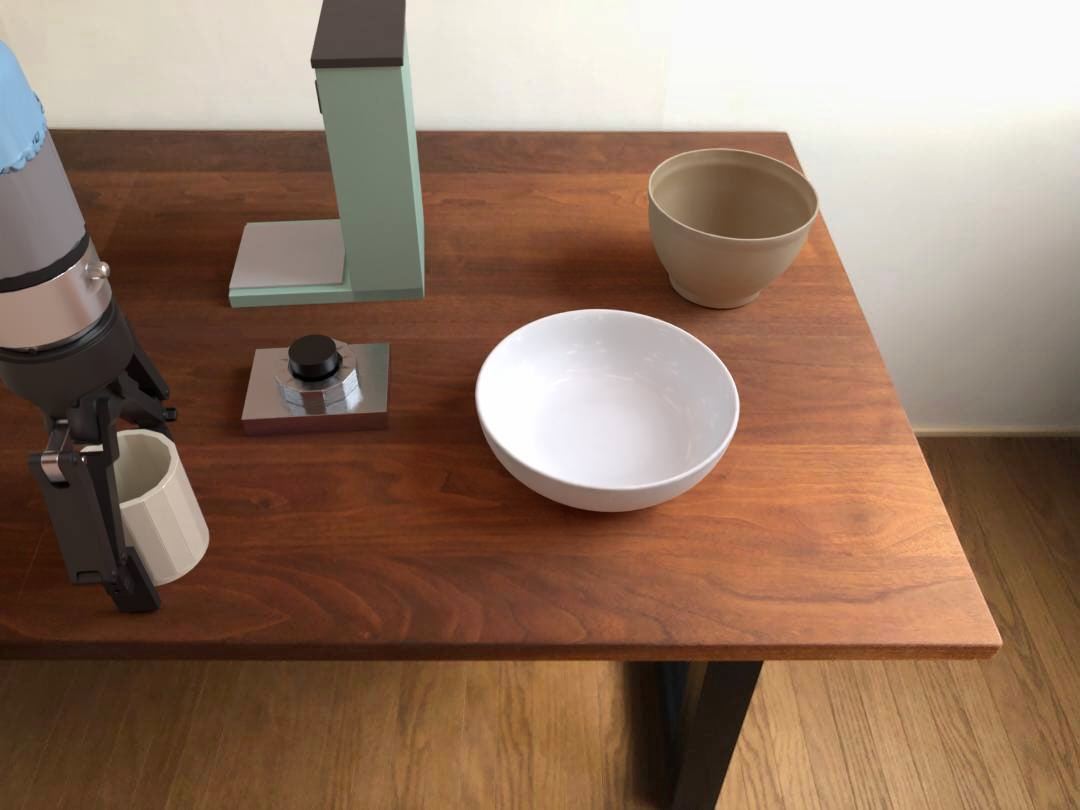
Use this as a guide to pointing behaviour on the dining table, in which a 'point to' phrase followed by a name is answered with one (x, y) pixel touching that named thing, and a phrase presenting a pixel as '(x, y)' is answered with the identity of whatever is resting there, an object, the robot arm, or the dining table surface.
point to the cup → (158, 505)
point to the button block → (319, 393)
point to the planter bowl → (727, 222)
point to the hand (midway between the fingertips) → (157, 543)
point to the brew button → (313, 358)
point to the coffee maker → (350, 176)
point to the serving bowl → (606, 408)
